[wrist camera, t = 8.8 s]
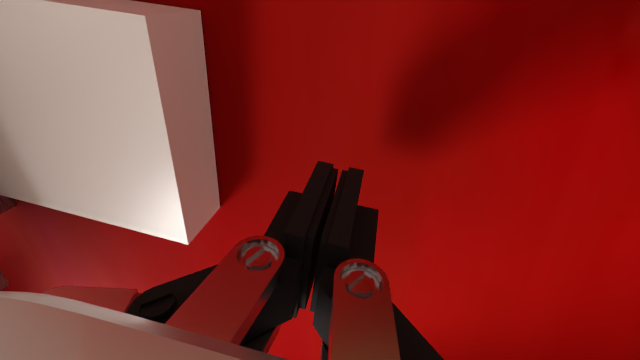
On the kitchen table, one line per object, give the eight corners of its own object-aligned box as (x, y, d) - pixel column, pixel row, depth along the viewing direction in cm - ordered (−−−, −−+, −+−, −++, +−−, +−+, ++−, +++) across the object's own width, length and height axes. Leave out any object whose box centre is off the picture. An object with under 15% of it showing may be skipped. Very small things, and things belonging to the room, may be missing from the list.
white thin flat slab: (-15, 150, 19) (-78, 174, 17) (-121, -37, 14) (-236, -42, 11) (220, 207, 17) (188, 244, 14) (200, 10, 12) (144, 15, 9)
